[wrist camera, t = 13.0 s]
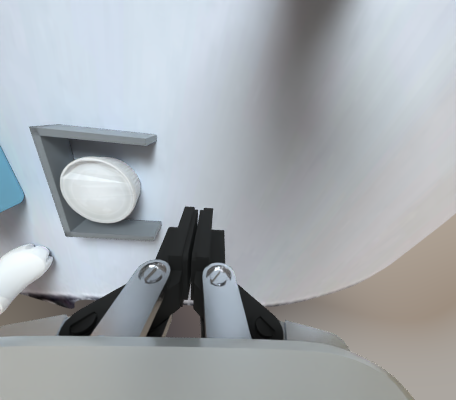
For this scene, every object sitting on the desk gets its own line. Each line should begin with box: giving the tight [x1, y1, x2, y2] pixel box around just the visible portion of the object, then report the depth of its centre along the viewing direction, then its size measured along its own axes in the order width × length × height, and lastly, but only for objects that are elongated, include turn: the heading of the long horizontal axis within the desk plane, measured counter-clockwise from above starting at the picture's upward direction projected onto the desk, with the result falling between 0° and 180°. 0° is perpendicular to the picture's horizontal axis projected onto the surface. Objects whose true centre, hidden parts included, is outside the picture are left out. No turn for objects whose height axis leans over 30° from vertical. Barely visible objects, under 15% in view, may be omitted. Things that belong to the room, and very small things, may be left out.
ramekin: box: [60, 157, 141, 223], centre depth 31 cm, size 11×11×5 cm
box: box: [29, 124, 161, 241], centre depth 31 cm, size 15×18×5 cm
